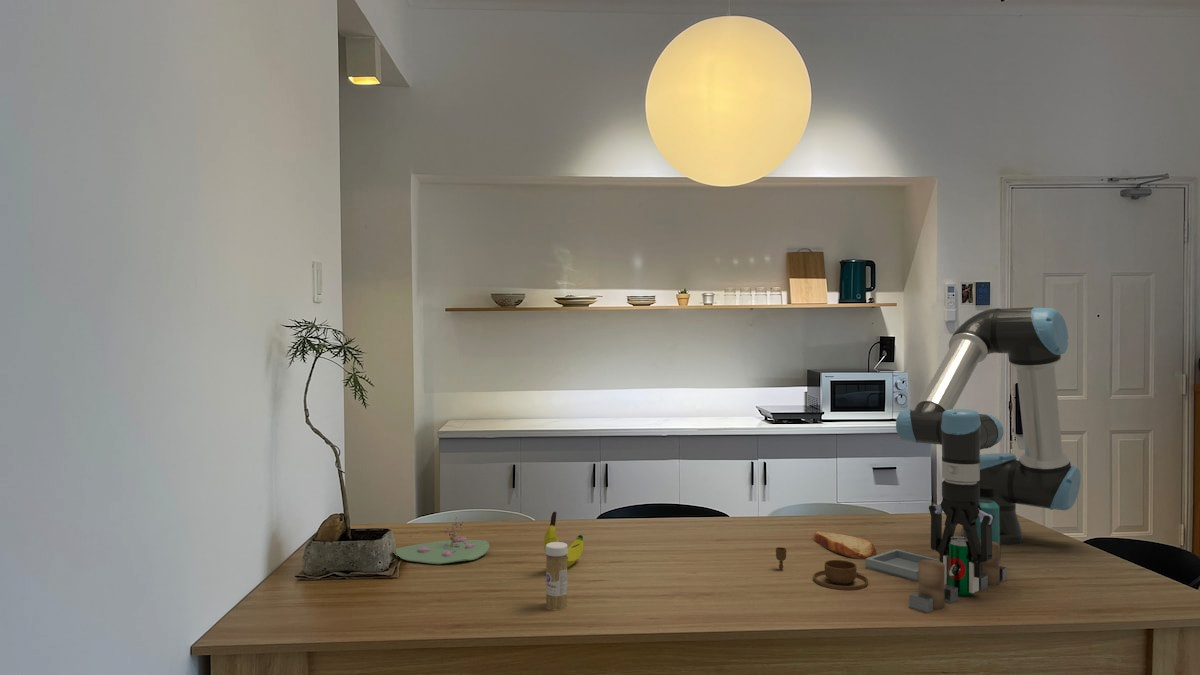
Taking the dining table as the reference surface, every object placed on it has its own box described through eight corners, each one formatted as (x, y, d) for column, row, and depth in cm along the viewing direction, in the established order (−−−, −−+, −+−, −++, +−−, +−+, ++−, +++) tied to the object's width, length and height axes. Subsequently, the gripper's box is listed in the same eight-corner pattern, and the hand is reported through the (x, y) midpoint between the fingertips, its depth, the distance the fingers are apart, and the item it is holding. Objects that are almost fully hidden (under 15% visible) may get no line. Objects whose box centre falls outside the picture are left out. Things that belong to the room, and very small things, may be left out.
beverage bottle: (1004, 575, 181) (1004, 489, 180) (973, 573, 182) (973, 488, 182) (995, 566, 187) (996, 484, 187) (966, 565, 188) (966, 483, 188)
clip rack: (989, 576, 180) (989, 563, 180) (1006, 580, 177) (1006, 567, 177) (909, 609, 159) (909, 594, 159) (927, 614, 156) (927, 599, 156)
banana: (589, 560, 194) (589, 500, 194) (557, 580, 178) (556, 515, 178) (573, 558, 196) (573, 498, 195) (539, 578, 180) (539, 513, 180)
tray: (895, 559, 194) (895, 549, 194) (945, 571, 183) (945, 561, 183) (865, 568, 186) (865, 558, 186) (916, 582, 175) (916, 571, 175)
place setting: (825, 599, 167) (826, 572, 167) (770, 572, 185) (770, 548, 185) (888, 588, 174) (888, 562, 174) (829, 563, 192) (829, 540, 192)
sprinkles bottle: (541, 609, 160) (540, 544, 159) (556, 603, 163) (556, 539, 163) (557, 614, 157) (557, 548, 156) (572, 608, 160) (572, 543, 160)
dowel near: (926, 600, 164) (926, 558, 164) (949, 607, 160) (949, 563, 160) (913, 605, 161) (913, 562, 161) (936, 612, 157) (936, 568, 157)
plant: (390, 568, 189) (389, 531, 189) (392, 545, 209) (392, 512, 209) (492, 560, 195) (492, 525, 195) (485, 539, 215) (485, 507, 215)
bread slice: (815, 537, 216) (815, 523, 216) (883, 545, 207) (883, 531, 207) (799, 553, 200) (799, 539, 200) (872, 563, 191) (872, 548, 191)
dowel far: (981, 577, 179) (981, 539, 179) (1003, 583, 175) (1003, 543, 175) (970, 582, 176) (970, 542, 176) (993, 588, 172) (993, 547, 172)
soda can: (976, 598, 165) (976, 542, 165) (951, 596, 166) (951, 541, 166) (970, 590, 170) (970, 536, 170) (945, 589, 171) (945, 534, 171)
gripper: (912, 477, 172) (912, 580, 173) (994, 490, 158) (994, 603, 158) (930, 473, 177) (930, 574, 177) (1011, 485, 163) (1011, 595, 163)
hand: (960, 587), depth 168 cm, fingers closed on soda can, 5 cm apart
